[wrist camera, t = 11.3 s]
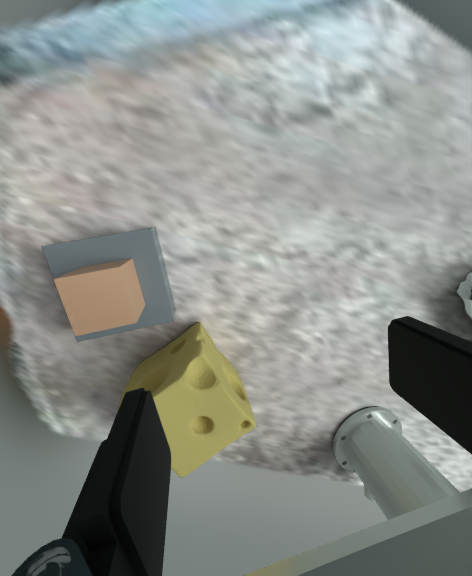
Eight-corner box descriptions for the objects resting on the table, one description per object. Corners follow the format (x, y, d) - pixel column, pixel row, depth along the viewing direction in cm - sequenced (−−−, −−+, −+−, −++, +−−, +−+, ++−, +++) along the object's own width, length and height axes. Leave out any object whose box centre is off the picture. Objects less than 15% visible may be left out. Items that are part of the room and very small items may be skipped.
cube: (132, 258, 25) (119, 267, 20) (145, 304, 26) (136, 323, 22) (79, 267, 24) (53, 279, 20) (95, 315, 26) (75, 336, 21)
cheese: (199, 318, 32) (204, 358, 23) (242, 374, 36) (263, 430, 26) (132, 364, 32) (109, 424, 23) (182, 416, 36) (180, 487, 26)
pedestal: (175, 308, 31) (173, 320, 27) (91, 326, 30) (77, 341, 26) (155, 227, 28) (150, 228, 25) (61, 242, 27) (41, 246, 23)
